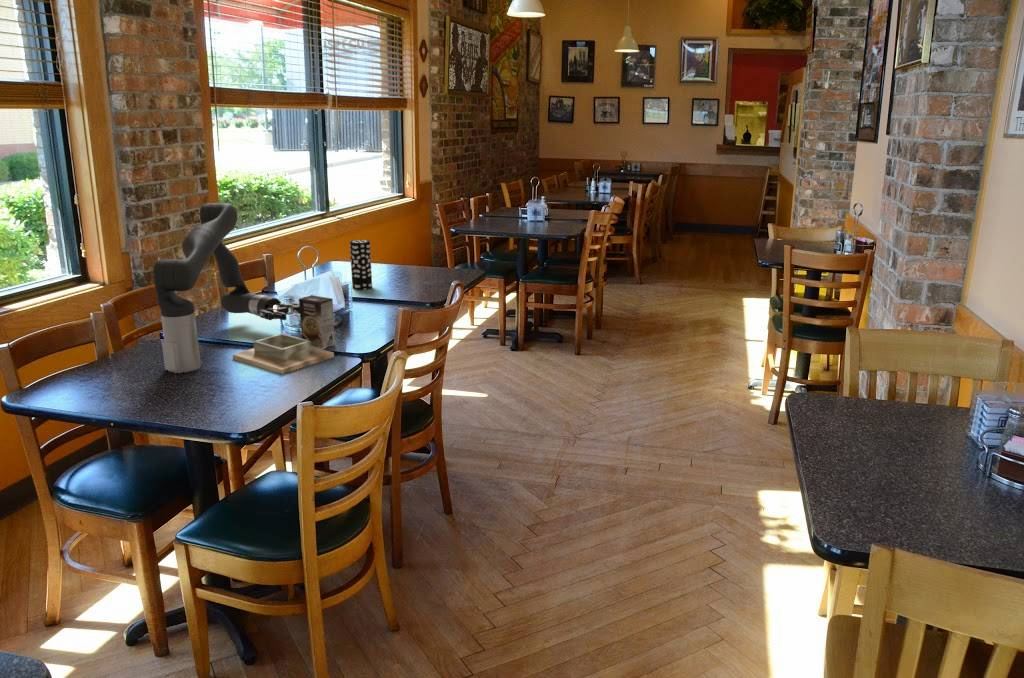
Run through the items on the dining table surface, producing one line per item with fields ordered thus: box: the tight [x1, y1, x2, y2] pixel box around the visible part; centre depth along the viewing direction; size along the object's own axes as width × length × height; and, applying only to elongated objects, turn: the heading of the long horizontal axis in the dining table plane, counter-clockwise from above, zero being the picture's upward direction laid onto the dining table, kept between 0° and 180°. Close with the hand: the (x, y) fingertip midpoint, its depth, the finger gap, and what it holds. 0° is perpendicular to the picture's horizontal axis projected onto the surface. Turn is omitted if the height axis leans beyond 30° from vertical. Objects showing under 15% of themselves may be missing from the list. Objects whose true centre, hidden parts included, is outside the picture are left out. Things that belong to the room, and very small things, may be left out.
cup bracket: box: [232, 333, 335, 375], centre depth 247 cm, size 20×24×6 cm
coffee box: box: [298, 294, 336, 348], centre depth 258 cm, size 9×6×16 cm
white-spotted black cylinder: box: [349, 239, 373, 291], centre depth 334 cm, size 8×8×20 cm
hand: (295, 314), depth 263 cm, fingers open, 8 cm apart
